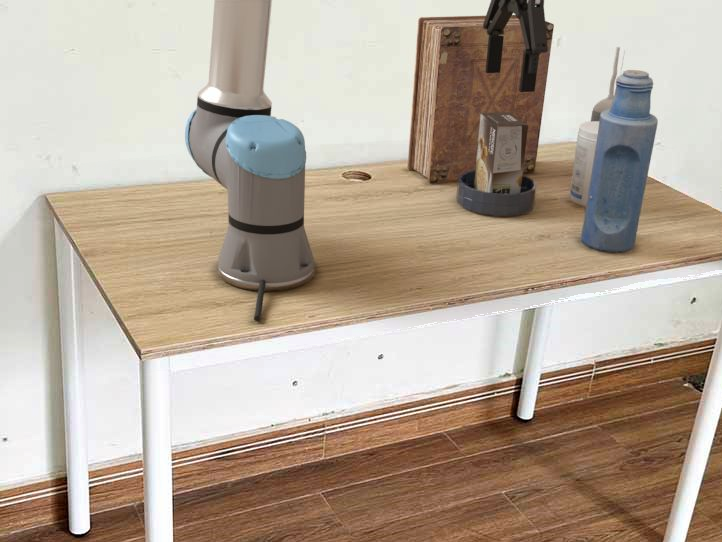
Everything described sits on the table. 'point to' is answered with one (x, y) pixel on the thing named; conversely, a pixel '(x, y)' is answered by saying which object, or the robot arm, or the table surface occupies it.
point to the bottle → (620, 166)
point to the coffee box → (500, 153)
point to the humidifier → (607, 102)
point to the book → (468, 93)
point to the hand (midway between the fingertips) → (509, 81)
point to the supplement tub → (583, 162)
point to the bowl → (495, 197)
